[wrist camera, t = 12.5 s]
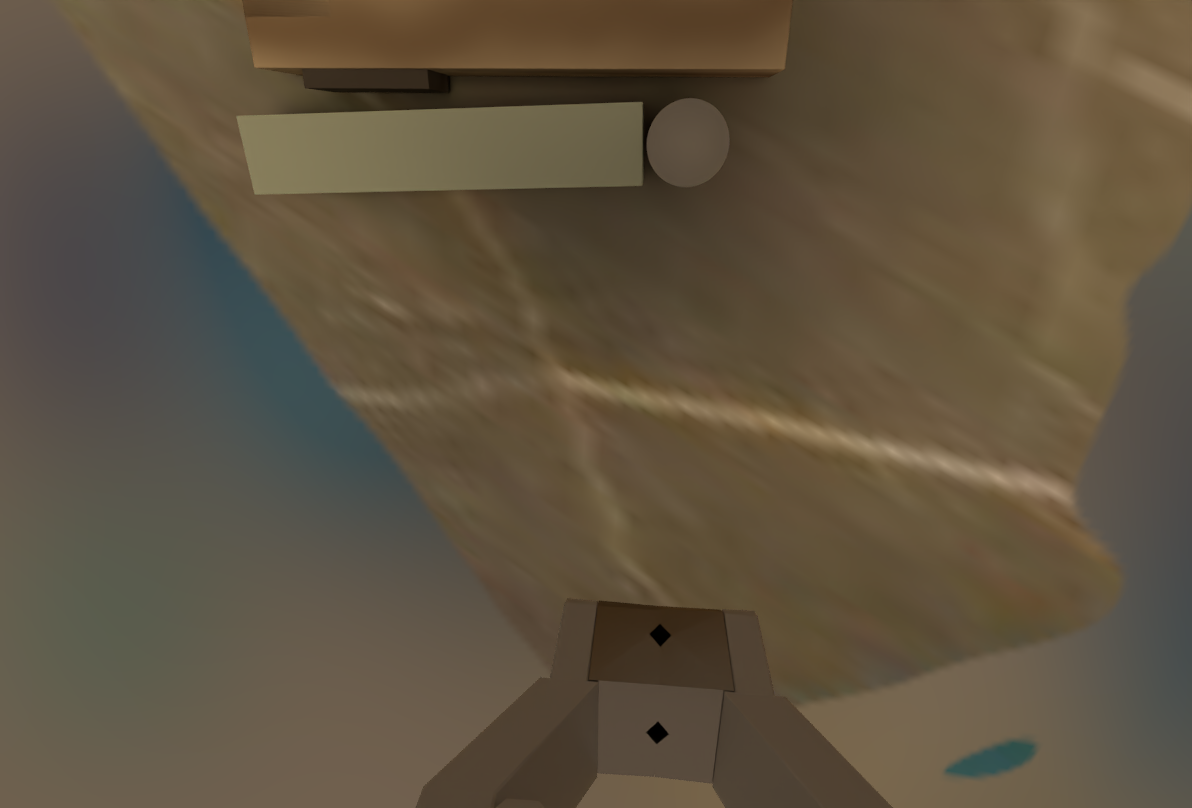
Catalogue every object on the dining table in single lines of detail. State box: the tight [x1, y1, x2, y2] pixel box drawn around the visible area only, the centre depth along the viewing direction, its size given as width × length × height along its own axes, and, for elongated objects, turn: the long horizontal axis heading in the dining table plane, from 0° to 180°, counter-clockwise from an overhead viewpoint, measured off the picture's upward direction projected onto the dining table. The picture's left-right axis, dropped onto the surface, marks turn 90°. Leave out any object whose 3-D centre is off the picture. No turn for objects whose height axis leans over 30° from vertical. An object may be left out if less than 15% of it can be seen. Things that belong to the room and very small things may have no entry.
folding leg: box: [236, 98, 730, 195], centre depth 30 cm, size 23×4×5 cm, turn 92°
